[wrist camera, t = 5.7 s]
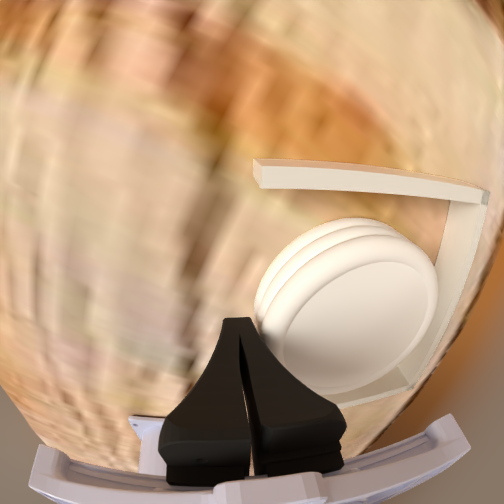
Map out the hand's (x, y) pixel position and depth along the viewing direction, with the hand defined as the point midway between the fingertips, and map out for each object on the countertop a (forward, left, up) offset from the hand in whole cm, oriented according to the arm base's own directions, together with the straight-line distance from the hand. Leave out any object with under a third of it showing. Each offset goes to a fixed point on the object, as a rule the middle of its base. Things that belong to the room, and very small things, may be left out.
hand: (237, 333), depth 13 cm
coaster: (0, -6, -2) cm, 6 cm away
